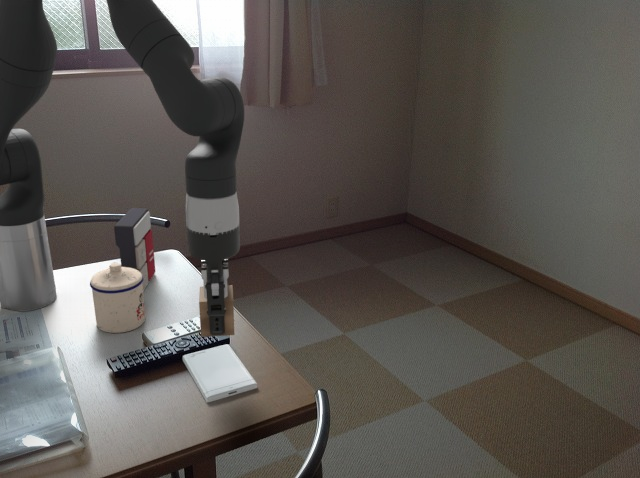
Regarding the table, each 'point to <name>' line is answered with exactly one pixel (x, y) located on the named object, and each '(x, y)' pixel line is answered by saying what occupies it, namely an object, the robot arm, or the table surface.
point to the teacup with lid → (118, 299)
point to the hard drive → (218, 372)
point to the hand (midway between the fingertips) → (217, 323)
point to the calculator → (136, 242)
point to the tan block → (227, 317)
